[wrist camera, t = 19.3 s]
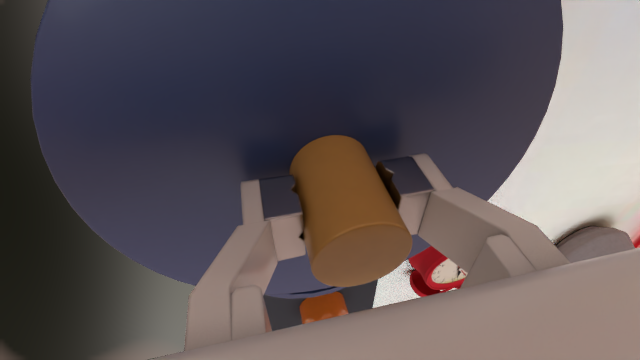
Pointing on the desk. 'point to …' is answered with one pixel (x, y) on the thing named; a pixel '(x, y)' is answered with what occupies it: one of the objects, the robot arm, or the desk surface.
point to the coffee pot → (594, 243)
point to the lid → (282, 117)
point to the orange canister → (323, 307)
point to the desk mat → (288, 311)
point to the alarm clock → (434, 273)
